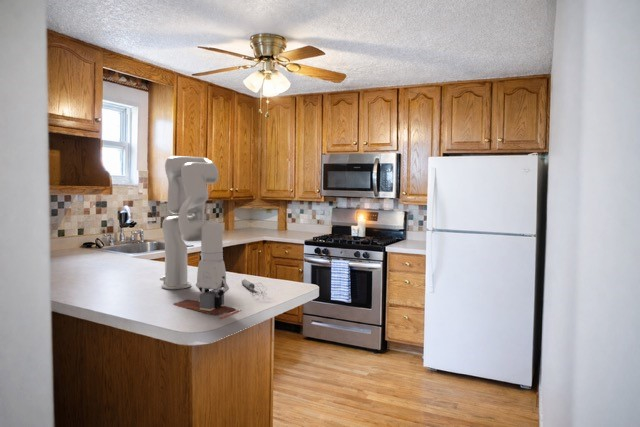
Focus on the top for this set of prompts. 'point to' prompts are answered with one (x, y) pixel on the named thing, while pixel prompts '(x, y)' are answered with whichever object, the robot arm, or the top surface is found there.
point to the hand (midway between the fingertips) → (212, 306)
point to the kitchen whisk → (251, 286)
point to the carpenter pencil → (230, 314)
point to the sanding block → (209, 300)
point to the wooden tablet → (196, 306)
